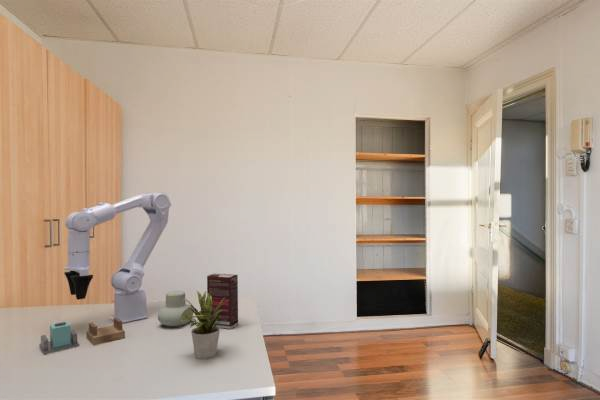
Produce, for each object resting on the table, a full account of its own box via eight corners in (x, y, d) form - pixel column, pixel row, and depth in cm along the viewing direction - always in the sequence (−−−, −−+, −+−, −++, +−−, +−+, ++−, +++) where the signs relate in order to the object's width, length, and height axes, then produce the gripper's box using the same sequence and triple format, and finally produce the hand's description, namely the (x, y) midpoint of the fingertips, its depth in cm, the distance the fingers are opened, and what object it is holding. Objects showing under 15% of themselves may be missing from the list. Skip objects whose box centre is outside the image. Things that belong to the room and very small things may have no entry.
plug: (67, 339, 104) (67, 319, 104) (70, 343, 101) (70, 323, 101) (50, 343, 101) (50, 323, 101) (53, 347, 98) (52, 326, 98)
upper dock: (116, 330, 112) (116, 316, 112) (124, 338, 106) (124, 322, 106) (86, 337, 107) (86, 321, 107) (93, 345, 101) (93, 328, 101)
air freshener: (174, 317, 125) (174, 288, 125) (196, 319, 123) (196, 289, 123) (153, 328, 115) (153, 296, 115) (177, 330, 112) (176, 297, 112)
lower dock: (73, 338, 106) (72, 327, 106) (79, 346, 101) (79, 334, 101) (39, 345, 101) (39, 334, 101) (43, 354, 95) (43, 342, 95)
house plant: (165, 351, 97) (165, 288, 97) (215, 339, 105) (214, 281, 105) (185, 370, 85) (184, 299, 86) (239, 355, 94) (238, 290, 94)
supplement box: (238, 324, 117) (238, 274, 117) (231, 329, 113) (230, 277, 113) (215, 322, 120) (214, 272, 120) (206, 326, 116) (206, 275, 116)
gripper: (58, 250, 116) (57, 294, 115) (68, 254, 105) (67, 303, 104) (84, 248, 120) (83, 291, 120) (96, 253, 110) (95, 299, 109)
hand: (77, 296), depth 113 cm, fingers open, 7 cm apart
